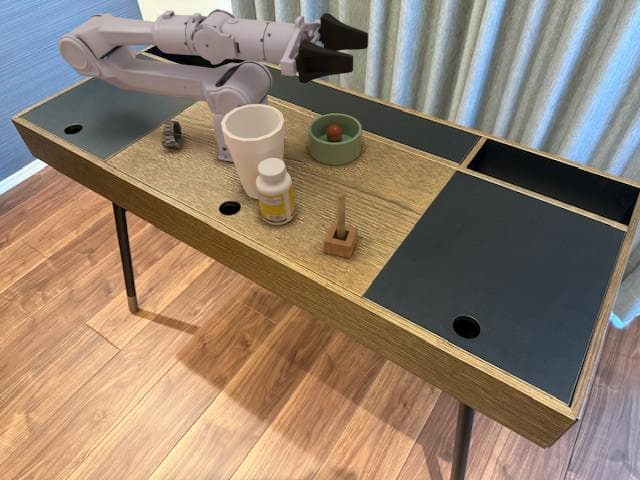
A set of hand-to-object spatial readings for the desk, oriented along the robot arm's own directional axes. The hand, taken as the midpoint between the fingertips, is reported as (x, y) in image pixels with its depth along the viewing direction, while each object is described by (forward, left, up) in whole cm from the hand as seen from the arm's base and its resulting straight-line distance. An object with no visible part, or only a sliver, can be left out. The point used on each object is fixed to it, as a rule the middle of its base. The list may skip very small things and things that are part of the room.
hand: (360, 52), depth 68 cm
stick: (+2, -17, -22) cm, 28 cm away
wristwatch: (-34, -2, -22) cm, 41 cm away
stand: (+2, -17, -22) cm, 28 cm away
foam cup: (-14, -8, -22) cm, 27 cm away
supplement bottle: (-9, -13, -22) cm, 27 cm away
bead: (-6, +7, -20) cm, 22 cm away
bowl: (-5, +5, -22) cm, 23 cm away
